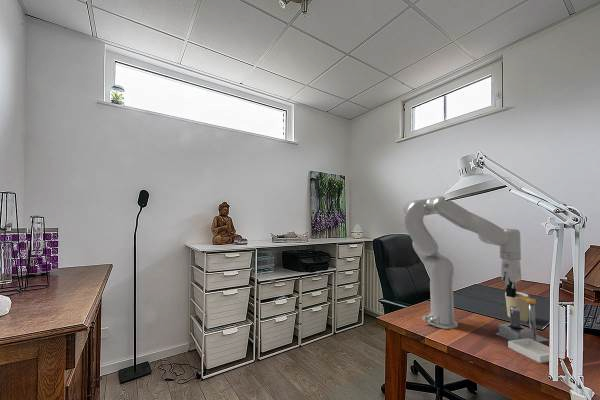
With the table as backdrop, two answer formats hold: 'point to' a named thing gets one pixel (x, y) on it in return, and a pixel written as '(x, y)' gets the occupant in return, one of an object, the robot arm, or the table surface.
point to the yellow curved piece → (526, 298)
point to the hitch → (522, 329)
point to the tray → (531, 349)
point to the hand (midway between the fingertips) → (511, 296)
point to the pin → (515, 318)
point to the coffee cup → (520, 304)
